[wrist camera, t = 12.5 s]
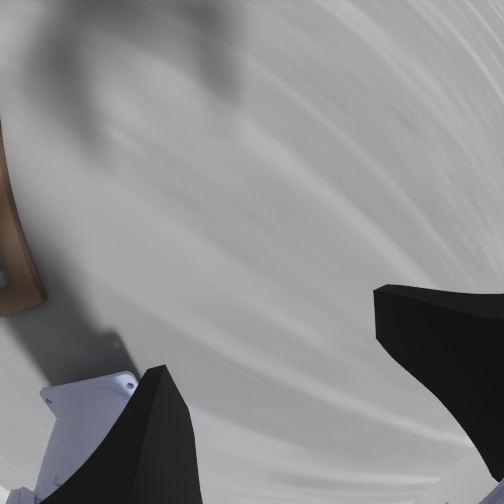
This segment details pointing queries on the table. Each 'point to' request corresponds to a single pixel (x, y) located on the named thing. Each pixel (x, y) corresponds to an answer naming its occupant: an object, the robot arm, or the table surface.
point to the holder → (14, 254)
